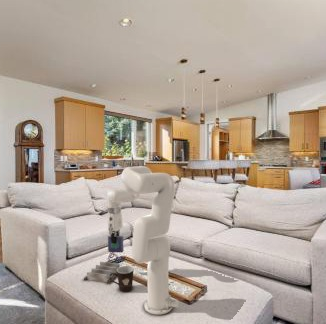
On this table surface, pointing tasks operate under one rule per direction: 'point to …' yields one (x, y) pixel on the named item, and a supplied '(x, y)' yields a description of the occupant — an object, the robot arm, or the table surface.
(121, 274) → the coffee mug
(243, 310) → the table surface
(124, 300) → the table surface
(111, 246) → the flask
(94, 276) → the drying rack
